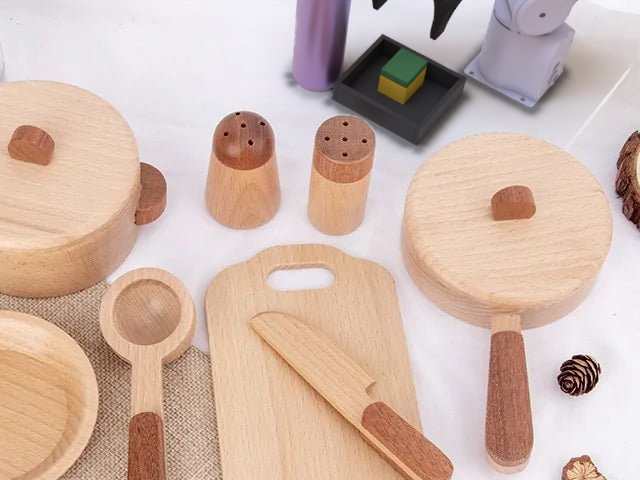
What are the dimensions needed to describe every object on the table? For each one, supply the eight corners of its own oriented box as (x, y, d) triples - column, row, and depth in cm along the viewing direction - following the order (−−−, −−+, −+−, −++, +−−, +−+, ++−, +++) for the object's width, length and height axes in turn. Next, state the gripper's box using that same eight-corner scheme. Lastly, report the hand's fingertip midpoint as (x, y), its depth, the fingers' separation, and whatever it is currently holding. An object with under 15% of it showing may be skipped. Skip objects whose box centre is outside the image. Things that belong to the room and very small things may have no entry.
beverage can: (337, 98, 127) (349, -5, 114) (287, 90, 128) (294, -14, 115) (345, 62, 130) (358, -43, 117) (296, 54, 131) (304, -51, 118)
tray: (461, 96, 128) (466, 77, 125) (415, 148, 124) (419, 129, 121) (379, 52, 131) (382, 33, 128) (331, 101, 127) (333, 82, 124)
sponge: (423, 83, 128) (428, 60, 125) (403, 105, 126) (407, 82, 123) (397, 69, 129) (402, 47, 126) (377, 91, 127) (381, 68, 124)
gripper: (347, -96, 110) (335, 10, 122) (469, -36, 106) (444, 68, 118) (385, -131, 113) (370, -23, 125) (505, -73, 109) (477, 32, 121)
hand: (408, 19), depth 122 cm, fingers open, 7 cm apart
